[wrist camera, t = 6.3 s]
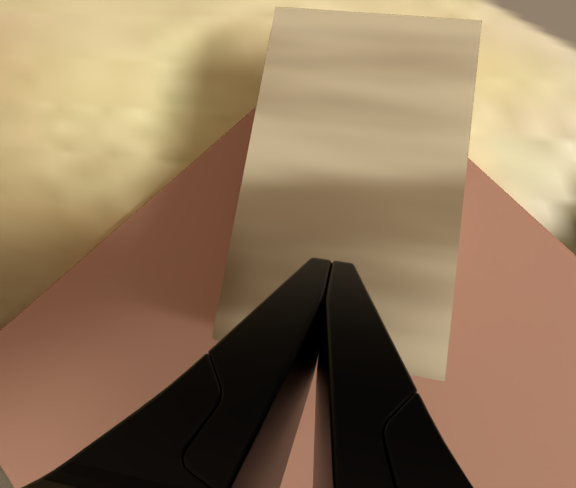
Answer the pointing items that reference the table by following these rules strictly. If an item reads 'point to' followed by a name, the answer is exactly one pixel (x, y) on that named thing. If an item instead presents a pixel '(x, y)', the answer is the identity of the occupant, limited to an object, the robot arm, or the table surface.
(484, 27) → the table surface
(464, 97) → the birch block
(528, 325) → the rubber mat
